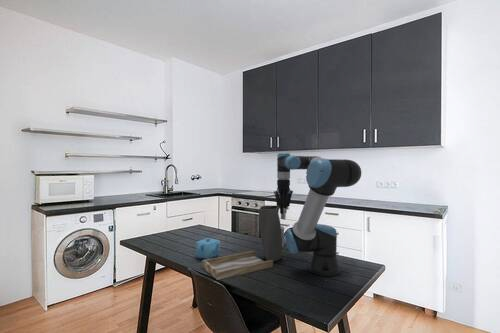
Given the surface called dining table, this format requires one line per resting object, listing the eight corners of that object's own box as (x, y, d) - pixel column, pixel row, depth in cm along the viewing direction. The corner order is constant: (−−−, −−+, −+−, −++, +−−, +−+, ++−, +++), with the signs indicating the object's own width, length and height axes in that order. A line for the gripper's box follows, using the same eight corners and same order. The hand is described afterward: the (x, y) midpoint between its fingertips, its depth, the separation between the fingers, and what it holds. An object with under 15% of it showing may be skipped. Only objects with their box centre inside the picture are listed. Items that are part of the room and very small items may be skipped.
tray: (273, 267, 144) (273, 259, 144) (217, 280, 126) (217, 271, 126) (253, 256, 160) (253, 249, 160) (202, 267, 143) (202, 259, 143)
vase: (286, 255, 158) (282, 205, 157) (279, 264, 147) (275, 209, 146) (266, 253, 163) (263, 204, 162) (259, 261, 152) (254, 209, 151)
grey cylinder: (283, 247, 178) (283, 229, 178) (269, 246, 179) (269, 228, 179) (284, 243, 187) (284, 226, 187) (270, 243, 189) (271, 225, 189)
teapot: (205, 251, 168) (205, 233, 168) (228, 256, 159) (229, 237, 159) (187, 259, 155) (187, 239, 155) (211, 265, 146) (212, 244, 145)
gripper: (288, 178, 166) (287, 217, 166) (270, 179, 159) (270, 219, 159) (296, 179, 159) (295, 219, 159) (278, 179, 153) (278, 221, 153)
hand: (283, 219), depth 159 cm, fingers closed
